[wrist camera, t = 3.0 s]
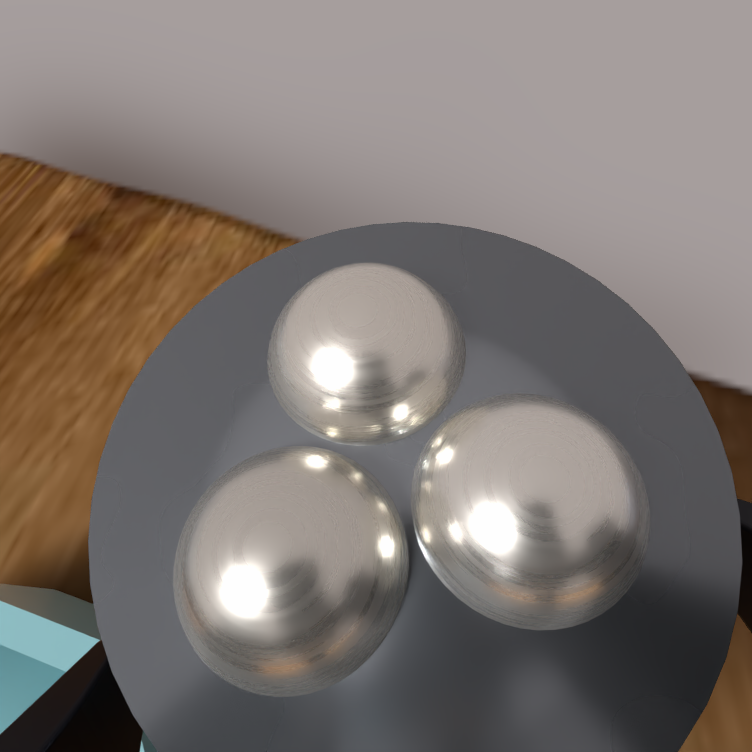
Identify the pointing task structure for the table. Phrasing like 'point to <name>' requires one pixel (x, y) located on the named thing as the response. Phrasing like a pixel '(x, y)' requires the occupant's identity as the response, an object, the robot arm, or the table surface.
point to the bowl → (41, 645)
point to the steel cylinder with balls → (414, 511)
